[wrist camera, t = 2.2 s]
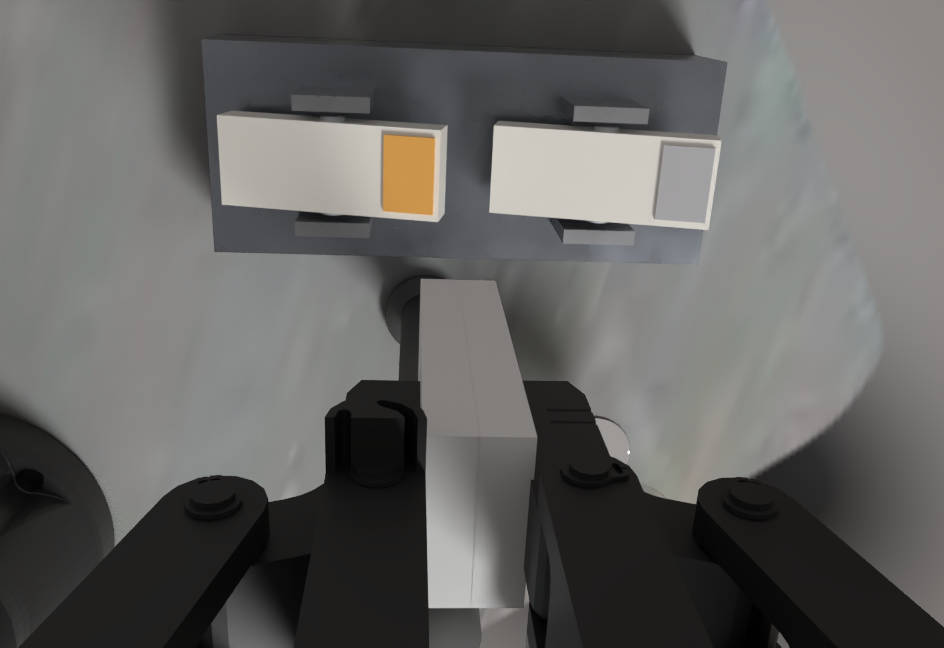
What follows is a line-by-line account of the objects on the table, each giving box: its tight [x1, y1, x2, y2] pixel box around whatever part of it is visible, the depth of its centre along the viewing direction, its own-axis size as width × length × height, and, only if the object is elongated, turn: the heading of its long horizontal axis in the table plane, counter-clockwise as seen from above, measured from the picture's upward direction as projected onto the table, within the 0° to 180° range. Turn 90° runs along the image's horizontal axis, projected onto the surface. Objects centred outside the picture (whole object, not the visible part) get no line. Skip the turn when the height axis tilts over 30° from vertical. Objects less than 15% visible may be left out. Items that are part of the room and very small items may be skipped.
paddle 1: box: [217, 111, 448, 222], centre depth 35 cm, size 9×4×2 cm, turn 88°
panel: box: [201, 34, 727, 264], centre depth 38 cm, size 22×9×8 cm, turn 87°
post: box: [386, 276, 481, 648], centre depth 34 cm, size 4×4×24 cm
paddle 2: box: [489, 121, 722, 230], centre depth 36 cm, size 9×4×2 cm, turn 88°
